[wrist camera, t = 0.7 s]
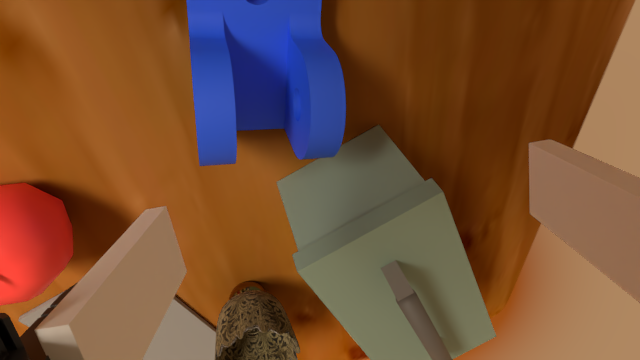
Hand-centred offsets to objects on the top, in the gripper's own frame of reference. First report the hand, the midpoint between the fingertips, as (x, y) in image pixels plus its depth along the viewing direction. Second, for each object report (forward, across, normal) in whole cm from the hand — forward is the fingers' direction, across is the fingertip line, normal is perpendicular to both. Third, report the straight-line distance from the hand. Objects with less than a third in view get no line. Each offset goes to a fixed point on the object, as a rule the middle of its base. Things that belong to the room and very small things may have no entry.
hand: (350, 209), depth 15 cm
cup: (+23, -11, -17) cm, 31 cm away
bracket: (+16, -4, +9) cm, 19 cm away
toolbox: (+24, +2, -13) cm, 27 cm away
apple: (+16, -24, -3) cm, 29 cm away
